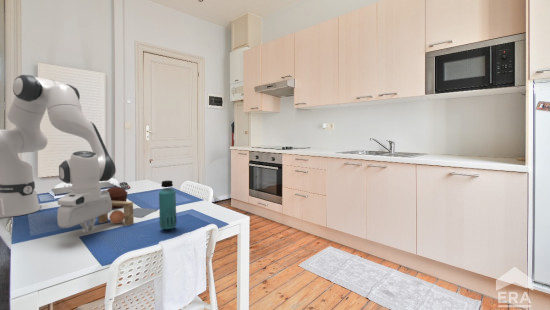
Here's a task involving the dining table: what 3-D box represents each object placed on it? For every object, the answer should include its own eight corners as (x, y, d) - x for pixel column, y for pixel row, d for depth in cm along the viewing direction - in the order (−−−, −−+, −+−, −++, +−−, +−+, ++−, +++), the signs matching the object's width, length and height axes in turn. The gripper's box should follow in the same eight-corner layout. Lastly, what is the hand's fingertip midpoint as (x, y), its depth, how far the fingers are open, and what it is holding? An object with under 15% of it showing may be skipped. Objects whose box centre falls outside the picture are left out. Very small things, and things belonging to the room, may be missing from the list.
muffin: (104, 204, 139) (104, 186, 138) (128, 202, 144) (128, 184, 143) (100, 211, 128) (100, 191, 127) (126, 208, 133) (126, 189, 132)
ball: (113, 225, 113) (104, 220, 109) (117, 213, 116) (109, 208, 112) (124, 225, 113) (116, 220, 108) (129, 212, 116) (121, 208, 111)
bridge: (128, 225, 110) (127, 203, 109) (98, 222, 112) (97, 201, 112) (133, 222, 113) (132, 201, 112) (104, 220, 115) (103, 199, 115)
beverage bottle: (166, 234, 101) (165, 183, 99) (155, 230, 105) (154, 181, 103) (180, 229, 107) (179, 180, 105) (169, 225, 110) (168, 178, 108)
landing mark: (118, 215, 122) (118, 215, 122) (136, 208, 134) (136, 207, 134) (141, 217, 120) (141, 217, 120) (157, 209, 132) (157, 209, 132)
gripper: (102, 188, 109) (103, 221, 110) (52, 201, 89) (55, 241, 90) (115, 189, 108) (116, 222, 109) (68, 202, 88) (70, 242, 89)
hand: (88, 230), depth 99 cm, fingers closed
